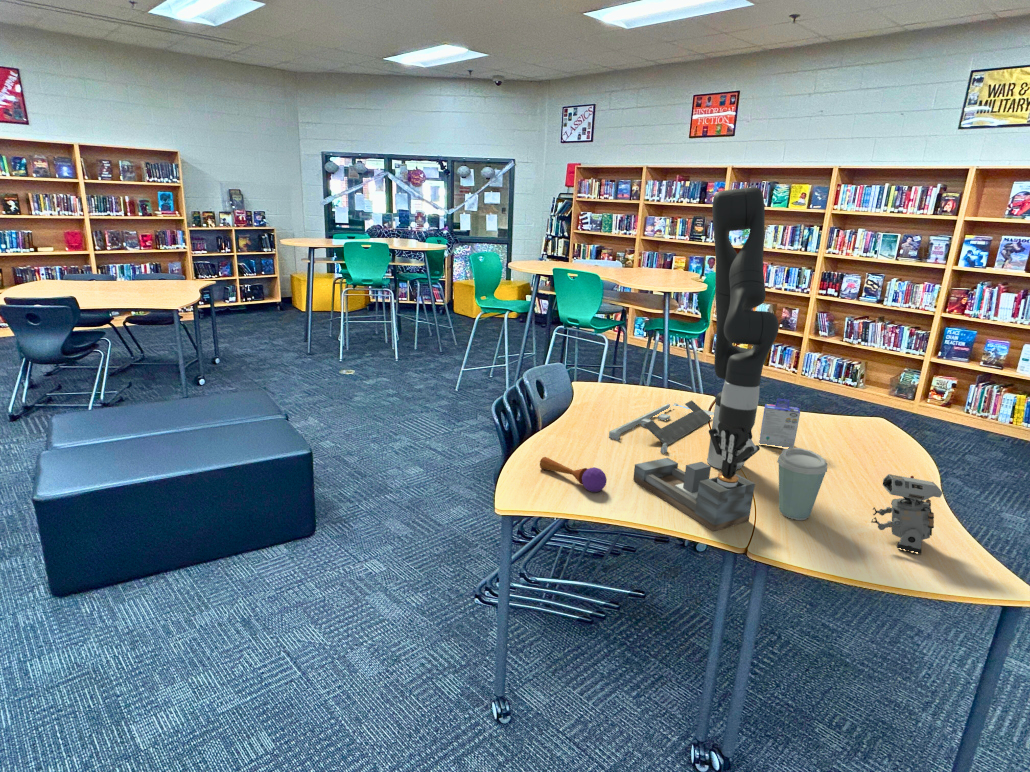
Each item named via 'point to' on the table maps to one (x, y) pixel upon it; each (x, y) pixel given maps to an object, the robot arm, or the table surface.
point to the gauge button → (727, 481)
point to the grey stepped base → (713, 499)
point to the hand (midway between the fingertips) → (727, 476)
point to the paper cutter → (671, 430)
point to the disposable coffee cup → (799, 481)
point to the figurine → (909, 510)
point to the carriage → (694, 478)
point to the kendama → (578, 474)
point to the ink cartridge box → (779, 424)
